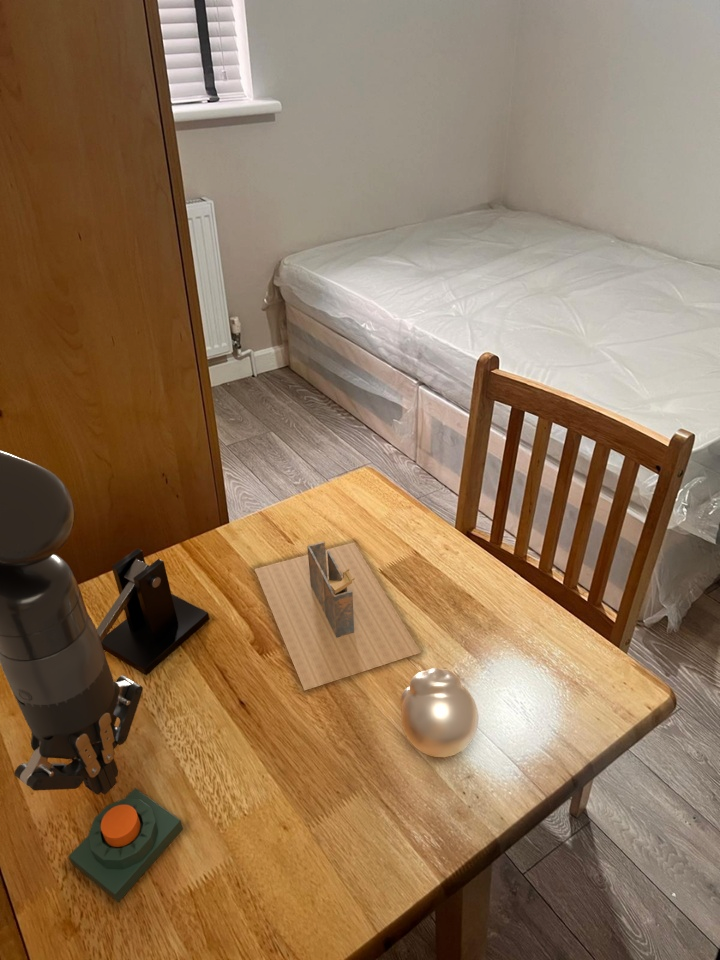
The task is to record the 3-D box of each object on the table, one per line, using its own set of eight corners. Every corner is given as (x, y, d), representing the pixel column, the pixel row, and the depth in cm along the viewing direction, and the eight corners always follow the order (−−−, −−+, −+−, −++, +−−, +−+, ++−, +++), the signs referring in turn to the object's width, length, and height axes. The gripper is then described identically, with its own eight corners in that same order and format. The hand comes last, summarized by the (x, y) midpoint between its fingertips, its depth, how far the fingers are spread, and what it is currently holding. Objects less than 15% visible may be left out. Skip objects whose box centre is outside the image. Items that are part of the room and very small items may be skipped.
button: (121, 854, 73) (117, 844, 72) (96, 835, 74) (92, 826, 73) (147, 825, 75) (144, 815, 74) (124, 807, 77) (120, 797, 76)
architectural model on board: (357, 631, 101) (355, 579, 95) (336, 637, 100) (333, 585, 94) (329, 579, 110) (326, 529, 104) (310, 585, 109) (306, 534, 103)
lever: (88, 684, 91) (73, 677, 88) (71, 673, 92) (56, 666, 90) (161, 574, 96) (148, 564, 94) (144, 565, 98) (131, 555, 95)
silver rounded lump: (475, 707, 90) (480, 651, 84) (476, 776, 82) (482, 720, 77) (401, 701, 91) (402, 646, 85) (396, 769, 83) (396, 713, 78)
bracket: (146, 675, 95) (126, 605, 88) (100, 648, 99) (77, 578, 92) (209, 619, 103) (195, 550, 96) (164, 595, 108) (147, 527, 100)
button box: (118, 903, 72) (110, 885, 70) (72, 864, 75) (63, 846, 73) (183, 828, 78) (178, 810, 76) (138, 796, 81) (131, 777, 79)
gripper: (90, 600, 67) (129, 719, 77) (-43, 701, 58) (21, 820, 68) (148, 632, 63) (181, 752, 73) (16, 745, 54) (74, 864, 64)
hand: (104, 785), depth 71 cm, fingers closed
